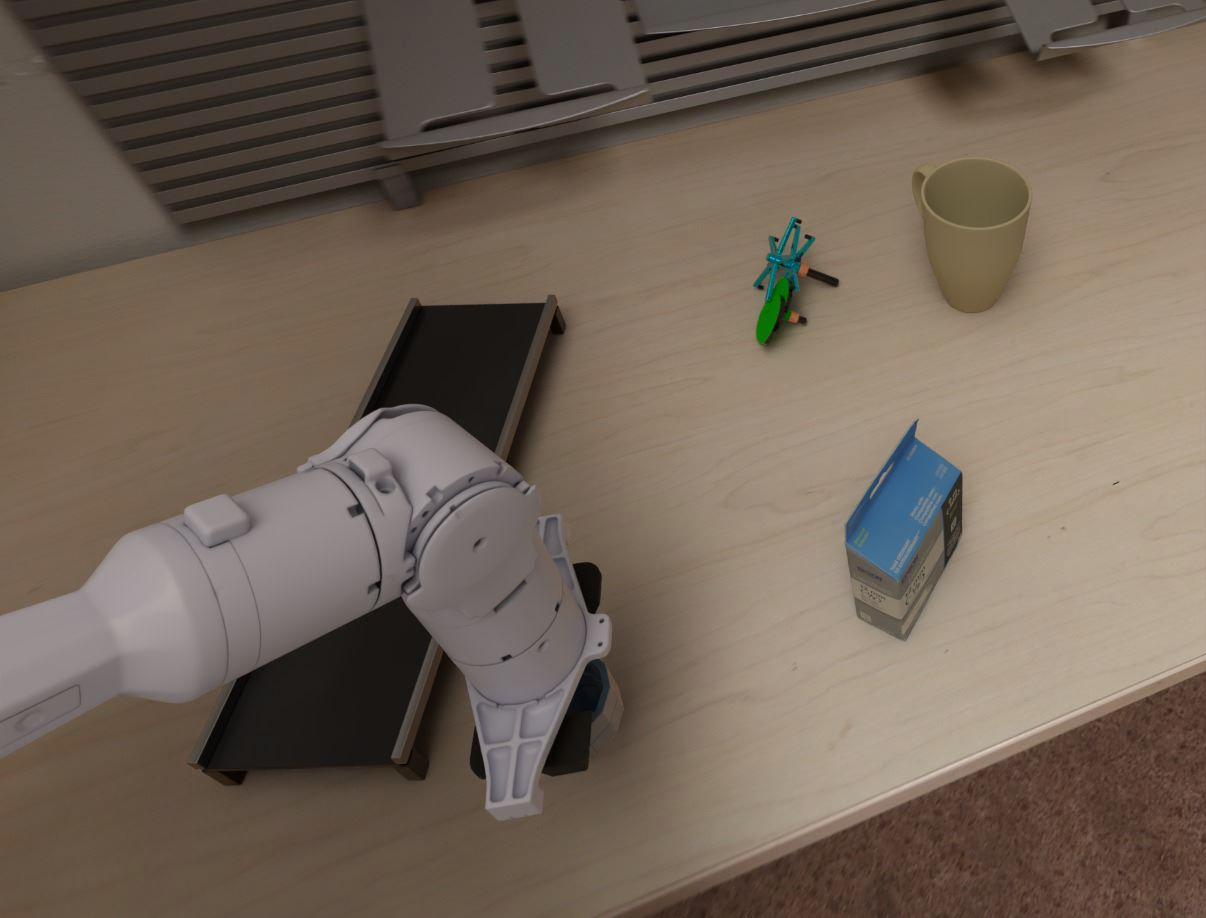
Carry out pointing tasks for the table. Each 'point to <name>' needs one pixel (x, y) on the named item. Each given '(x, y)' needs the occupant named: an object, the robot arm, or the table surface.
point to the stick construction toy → (784, 282)
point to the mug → (972, 226)
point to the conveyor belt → (392, 632)
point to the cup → (598, 704)
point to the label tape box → (903, 535)
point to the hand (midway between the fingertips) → (574, 712)
